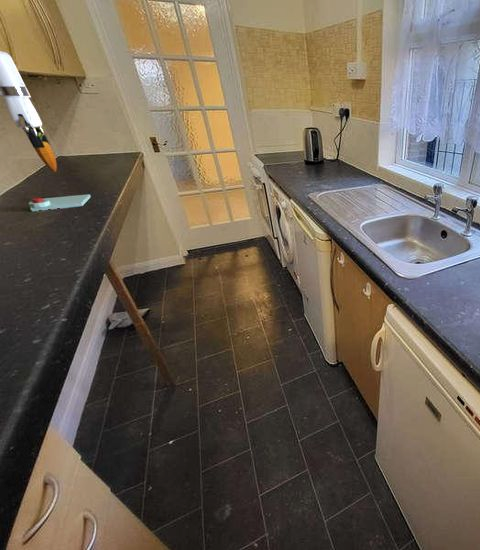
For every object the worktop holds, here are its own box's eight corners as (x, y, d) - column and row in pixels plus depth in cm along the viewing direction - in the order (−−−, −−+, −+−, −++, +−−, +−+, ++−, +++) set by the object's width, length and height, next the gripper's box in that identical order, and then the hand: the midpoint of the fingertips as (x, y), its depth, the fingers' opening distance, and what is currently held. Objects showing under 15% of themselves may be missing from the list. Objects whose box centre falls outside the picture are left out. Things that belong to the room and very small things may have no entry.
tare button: (32, 204, 118) (30, 200, 117) (35, 201, 120) (33, 198, 119) (42, 203, 119) (40, 199, 118) (45, 201, 121) (43, 197, 120)
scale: (30, 212, 117) (25, 204, 116) (43, 201, 128) (39, 194, 127) (82, 206, 124) (78, 199, 122) (91, 197, 135) (88, 190, 133)
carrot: (59, 169, 125) (39, 130, 117) (65, 170, 123) (45, 131, 115) (44, 172, 121) (22, 131, 113) (50, 173, 119) (28, 132, 111)
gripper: (11, 92, 112) (38, 144, 122) (-12, 92, 100) (20, 150, 109) (37, 92, 115) (61, 143, 125) (18, 93, 103) (46, 149, 112)
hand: (42, 146), depth 117 cm, fingers closed on carrot, 4 cm apart
